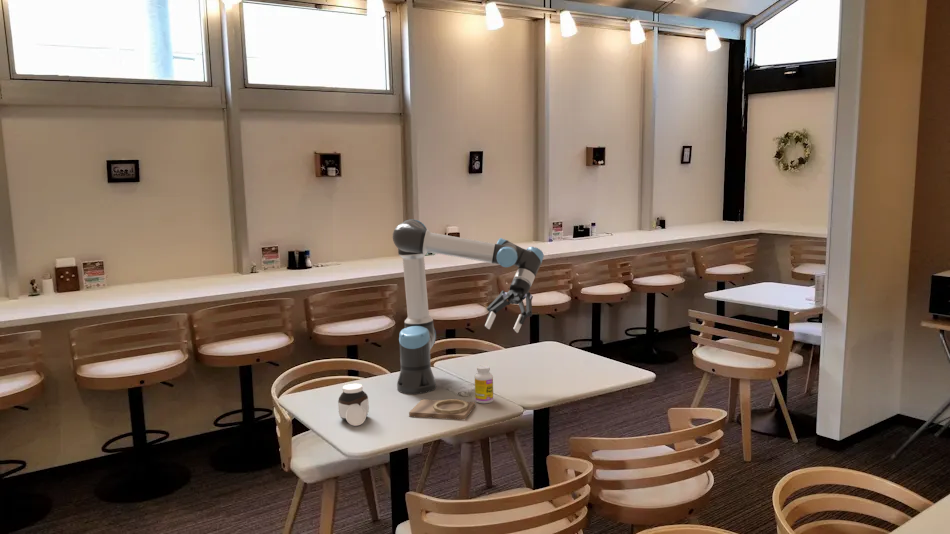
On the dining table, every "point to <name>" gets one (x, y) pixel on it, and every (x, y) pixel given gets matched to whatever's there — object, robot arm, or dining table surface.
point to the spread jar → (353, 404)
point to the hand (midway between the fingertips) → (501, 329)
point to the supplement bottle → (483, 385)
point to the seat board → (442, 409)
